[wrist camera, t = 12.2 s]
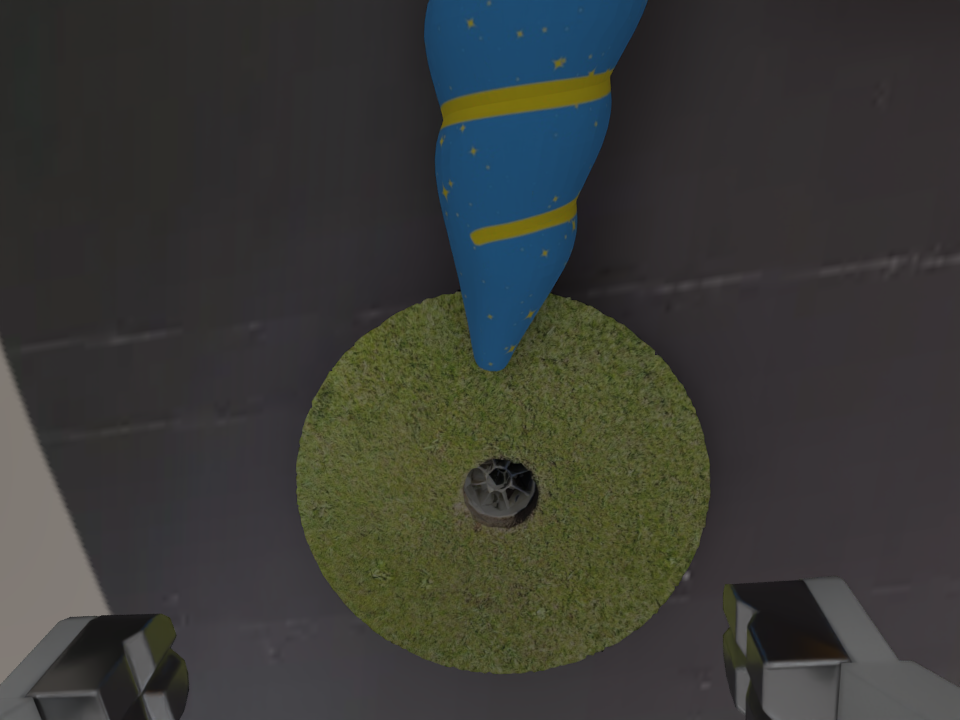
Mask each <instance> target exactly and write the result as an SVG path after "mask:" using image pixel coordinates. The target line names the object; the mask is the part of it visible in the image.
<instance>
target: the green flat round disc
mask: <svg viewBox="0 0 960 720" xmlns="http://www.w3.org/2000/svg"><path fill="white" fill-rule="evenodd" d="M332 370H333V371H330V372H329V373H328V375H327V377H326V379H325V381H324V383H323V384H322V386H321V388H320V389H319V391H318V393H317V394H316V396H315V398H314V399H313V401H312V407H313V408H310V411H309V413H308V415H307V417H306V419H305V423H304V426H303V431H302V436H301V438H300V441H299V443H300V448H299V453H298V457H297V465H296V472H297V477H296V481H297V487H298V488H297V490H296V494H297V504H298V505H299V507H298V509H299V514H300V517H301V524H302V526H303V529H304V533H305V537H306V540H307V543H308V544H309V545H310V549H311V552H312V554H313V556H314V558H315V560H316V562H317V563H318V565H319V568H320V570H321V572H322V574H323V576H324V577H325V578H326V580H327V581H328V582H329V584H330V585H331V587H332V589H333V590H334V591H335V592H336V593H337V594H338V596H339V597H340V598H341V600H342V601H343V603H344V604H345V605H346V606H347V607H348V608H349V609H350V610H351V611H352V612H353V613H354V614H355V615H356V616H357V617H358V618H360V619H361V620H362V621H363V622H364V623H366V624H367V625H368V626H369V627H370V628H371V629H372V630H373V631H375V632H376V633H378V634H379V635H380V636H382V637H383V638H384V639H386V640H387V641H391V643H393V644H396V645H399V646H400V647H401V648H402V649H407V650H408V651H409V652H411V653H413V654H415V655H418V656H420V657H421V658H422V659H426V660H430V661H433V662H435V663H438V664H441V665H443V666H446V667H452V666H454V667H456V668H458V669H460V670H469V671H471V672H482V673H487V672H489V671H490V672H491V673H492V674H511V673H526V672H529V671H533V672H537V671H539V670H541V671H544V670H547V669H549V668H554V667H557V666H560V665H566V664H570V663H574V662H577V661H580V660H582V659H584V658H585V657H586V656H587V655H594V653H595V652H596V653H597V652H599V651H601V652H603V650H604V649H605V647H610V646H612V645H615V644H617V643H619V642H620V641H621V640H622V639H624V638H625V637H627V636H628V635H630V634H631V633H632V632H633V631H635V630H638V629H639V628H640V627H641V626H643V625H644V624H645V623H646V622H647V620H648V619H650V618H651V617H652V615H653V614H656V613H657V612H658V609H659V608H660V607H661V606H662V605H663V604H664V603H665V602H666V601H667V600H668V598H669V597H670V595H671V594H672V593H673V591H674V590H675V587H674V586H678V585H679V582H680V581H681V579H682V576H683V575H684V573H685V572H686V571H687V569H688V567H689V565H690V563H691V561H692V559H693V557H694V555H695V553H696V550H697V548H698V547H699V542H700V537H701V534H702V530H703V528H704V527H705V524H706V514H707V511H708V508H709V507H708V502H709V499H710V486H709V485H710V472H709V467H710V463H709V458H708V454H707V450H706V445H705V441H704V435H703V432H702V429H701V425H700V422H699V419H698V417H697V415H696V410H695V408H694V407H693V406H692V401H691V400H690V398H689V397H688V396H687V394H686V390H685V389H684V387H683V385H682V384H681V383H680V382H679V381H678V380H677V377H676V376H675V375H674V374H673V373H672V371H671V369H670V367H669V366H668V365H667V364H666V363H665V362H664V360H663V359H662V358H661V357H660V356H659V355H655V350H653V349H652V348H651V347H650V346H649V345H647V344H646V343H645V342H643V341H642V340H641V339H639V338H638V337H637V336H636V335H635V334H634V333H633V332H632V331H631V330H629V329H628V328H627V327H626V326H625V325H623V324H620V323H618V322H616V321H615V320H614V319H613V318H611V317H608V316H605V315H604V314H603V313H601V312H600V311H598V310H597V309H595V308H593V307H592V306H590V305H585V304H583V303H582V302H580V301H578V300H571V297H565V298H564V297H561V296H558V295H554V294H551V293H549V295H548V296H547V298H546V300H545V301H544V303H543V304H542V306H541V308H540V309H539V311H538V313H537V314H536V316H535V317H534V319H533V321H532V322H531V324H530V325H529V327H528V329H527V330H526V332H525V333H524V335H523V337H522V339H521V340H520V342H519V344H518V345H517V347H516V349H515V351H514V353H513V355H512V357H511V359H510V361H509V362H508V364H507V365H506V367H505V368H504V369H502V370H499V371H488V370H484V369H482V368H480V367H479V366H478V365H477V363H476V361H475V359H474V354H473V349H472V344H471V338H470V332H469V327H468V322H467V317H466V312H465V307H464V303H463V298H462V293H461V290H458V291H457V292H456V293H455V294H448V295H444V294H443V295H440V296H438V297H435V298H432V299H425V300H423V302H422V303H421V304H417V303H416V304H415V305H413V306H411V307H409V308H407V309H405V310H403V311H400V312H398V313H396V314H395V315H393V316H392V317H390V318H389V319H387V320H386V321H384V322H383V323H381V326H379V327H377V328H375V329H373V330H371V331H369V332H368V333H367V334H365V335H364V336H363V337H361V338H360V339H359V340H358V341H357V342H356V343H355V346H353V347H352V348H351V349H349V350H348V351H347V352H345V353H344V355H343V356H342V357H341V358H340V360H339V361H338V362H337V364H336V365H335V366H334V367H333V368H332Z"/></svg>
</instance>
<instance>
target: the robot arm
mask: <svg viewBox="0 0 960 720" xmlns="http://www.w3.org/2000/svg"><path fill="white" fill-rule="evenodd" d="M723 610H724V613H725V615H726V618H727V621H728V623H729V626H730V627H729V628H728V630H727V631H726V632H725V633H724V635H723V655H724V663H725V670H726V677H727V681H728V685H729V689H730V693H731V696H732V699H733V702H734V704H735V707H736V708H737V709H738V710H739V711H740V712H742V713H743V714H744V715H745V716H746V720H960V688H959V687H958V686H956V685H954V684H952V683H951V682H949V681H947V680H945V679H943V678H942V677H940V676H938V675H936V674H935V673H933V672H931V671H929V670H928V669H926V668H924V667H922V666H921V665H919V664H917V663H915V662H913V661H900V660H899V659H898V658H897V656H896V655H895V653H894V652H893V650H892V649H891V647H890V646H889V645H888V643H887V642H886V640H885V639H884V637H883V636H882V634H881V633H880V632H879V630H878V629H877V627H876V626H875V624H874V623H873V621H872V620H871V619H870V617H869V616H868V614H867V613H866V611H865V610H864V608H863V607H862V606H861V604H860V603H859V601H858V600H857V598H856V597H855V595H854V594H853V593H852V591H851V590H850V588H849V587H848V585H847V584H846V582H845V581H844V580H843V579H841V578H840V577H838V576H828V577H816V578H803V579H799V580H791V581H774V582H757V583H739V584H725V587H724V592H723ZM176 636H177V635H176V633H175V630H174V627H173V624H172V622H171V619H170V618H169V617H167V616H165V615H163V614H136V615H102V616H83V617H69V618H67V619H64V620H62V621H59V622H58V623H57V624H56V625H55V627H53V629H52V630H51V631H50V632H49V633H48V634H47V635H46V636H45V637H44V638H43V639H42V640H41V641H40V643H39V644H38V645H37V646H36V647H35V648H34V649H33V650H32V651H31V652H30V653H29V654H28V655H27V657H26V658H25V659H24V660H23V661H22V662H21V663H20V664H19V665H18V666H17V667H16V668H15V669H14V671H13V672H12V673H11V674H10V675H9V676H8V677H7V678H6V679H5V680H4V681H3V682H2V683H1V684H0V720H180V718H181V716H182V714H183V712H184V710H185V706H186V701H187V697H188V692H189V678H188V671H187V668H186V664H185V661H184V659H182V658H181V657H180V656H179V655H178V654H177V653H176V652H174V651H173V650H172V649H171V647H172V645H173V643H174V640H175V638H176Z"/></svg>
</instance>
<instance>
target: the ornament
mask: <svg viewBox="0 0 960 720" xmlns="http://www.w3.org/2000/svg"><path fill="white" fill-rule="evenodd" d="M647 1H648V0H429V2H428V5H427V11H426V17H425V27H424V41H425V48H426V55H427V60H428V64H429V69H430V73H431V77H432V81H433V84H434V88H435V91H436V95H437V98H438V101H439V105H440V109H441V112H442V116H443V119H444V120H443V123H442V126H441V129H440V132H439V136H438V140H437V144H436V152H435V175H436V182H437V188H438V195H439V199H440V204H441V209H442V213H443V217H444V221H445V226H446V230H447V234H448V238H449V242H450V246H451V250H452V254H453V258H454V262H455V266H456V270H457V274H458V279H459V283H460V288H461V293H462V298H463V303H464V307H465V312H466V317H467V322H468V327H469V332H470V338H471V344H472V349H473V354H474V359H475V361H476V363H477V365H478V366H479V367H480V368H482V369H484V370H488V371H499V370H502V369H504V368H505V367H506V365H507V364H508V362H509V361H510V359H511V357H512V355H513V353H514V351H515V349H516V347H517V345H518V344H519V342H520V340H521V339H522V337H523V335H524V333H525V332H526V330H527V329H528V327H529V325H530V324H531V322H532V321H533V319H534V317H535V316H536V314H537V313H538V311H539V309H540V308H541V306H542V304H543V303H544V301H545V300H546V298H547V296H548V295H549V293H550V292H551V290H552V288H553V287H554V285H555V283H556V282H557V280H558V278H559V277H560V275H561V273H562V271H563V269H564V268H565V266H566V264H567V262H568V260H569V257H570V255H571V252H572V250H573V247H574V242H575V238H576V233H577V205H576V200H577V198H578V196H579V193H580V191H581V189H582V187H583V185H584V183H585V181H586V179H587V177H588V175H589V173H590V171H591V169H592V167H593V164H594V162H595V160H596V158H597V156H598V154H599V151H600V149H601V147H602V144H603V141H604V138H605V135H606V132H607V129H608V124H609V119H610V114H611V102H612V99H611V84H610V75H611V73H612V72H613V70H614V68H615V66H616V64H617V62H618V60H619V59H620V57H621V55H622V53H623V51H624V49H625V48H626V46H627V44H628V42H629V40H630V39H631V37H632V35H633V33H634V31H635V29H636V27H637V25H638V23H639V21H640V19H641V17H642V14H643V12H644V9H645V7H646V4H647Z"/></svg>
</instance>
